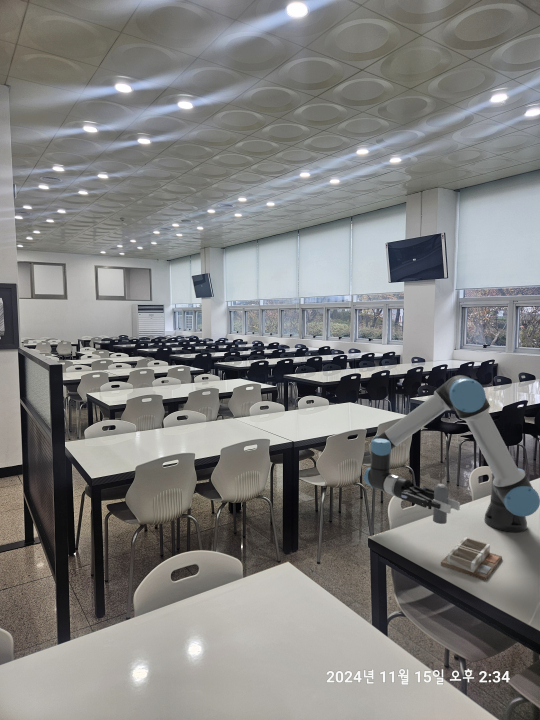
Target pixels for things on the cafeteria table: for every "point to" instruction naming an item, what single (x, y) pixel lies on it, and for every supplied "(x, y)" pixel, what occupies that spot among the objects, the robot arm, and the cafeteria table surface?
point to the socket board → (472, 558)
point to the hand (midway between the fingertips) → (454, 507)
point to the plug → (441, 496)
